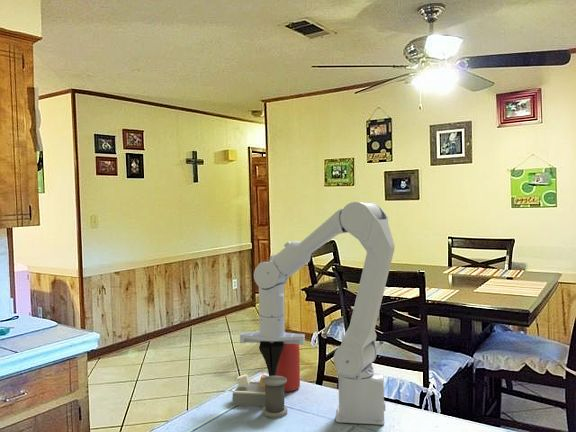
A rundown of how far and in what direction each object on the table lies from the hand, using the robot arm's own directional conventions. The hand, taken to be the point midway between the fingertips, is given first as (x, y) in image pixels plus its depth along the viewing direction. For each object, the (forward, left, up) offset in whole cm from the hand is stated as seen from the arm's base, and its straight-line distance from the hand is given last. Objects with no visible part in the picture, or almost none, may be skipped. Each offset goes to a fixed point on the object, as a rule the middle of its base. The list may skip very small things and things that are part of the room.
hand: (272, 375), depth 111 cm
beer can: (-2, -8, -6) cm, 10 cm away
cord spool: (-2, +7, -6) cm, 9 cm away
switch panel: (+4, 0, -6) cm, 7 cm away
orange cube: (+2, 0, -3) cm, 4 cm away
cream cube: (+6, 0, -3) cm, 7 cm away
